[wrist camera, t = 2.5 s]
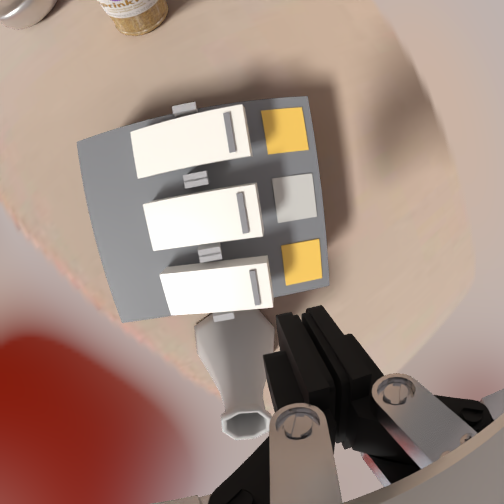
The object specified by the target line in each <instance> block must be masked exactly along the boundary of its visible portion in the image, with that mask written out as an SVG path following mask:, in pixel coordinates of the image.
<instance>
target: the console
mask: <svg viewBox="0 0 504 504" xmlns="http://www.w3.org/2000/svg"><path fill="white" fill-rule="evenodd" d="M241 104H242V105H243V106H244V108H245V111H246V118H247V124H248V130H249V136H250V142H251V148H252V155H253V156H250V157H244V158H238V159H232V160H226V161H220V162H215V163H209V164H204V165H199V166H194V167H189V168H185V169H180V170H175V171H171V172H166V173H162V174H158V175H154V176H149V177H145V178H139V179H138V177H137V172H136V166H135V160H134V154H133V147H132V141H131V134H130V132H132V131H135V130H138V129H141V128H144V127H148V126H151V125H154V124H158V123H161V122H165V121H169V120H172V119H176V118H180V117H184V116H188V115H192V114H196V113H201V112H205V111H210V110H214V109H219V108H224V107H230V106H235V105H241ZM172 110H173V114H170V115H165V116H161V117H157V118H153V119H149V120H145V121H141V122H138V123H134V124H131V125H127V126H124V127H120V128H117V129H114V130H110V131H107V132H104V133H101V134H98V135H95V136H92V137H89V138H87V139H84V140H81V141H78V142H77V148H78V155H79V162H80V169H81V175H82V180H83V186H84V191H85V196H86V201H87V206H88V211H89V215H90V219H91V224H92V228H93V232H94V236H95V240H96V243H97V247H98V251H99V254H100V258H101V261H102V265H103V268H104V271H105V275H106V278H107V281H108V284H109V287H110V290H111V293H112V296H113V299H114V302H115V305H116V307H117V310H118V313H119V315H120V318H121V321H122V323H124V322H132V321H139V320H146V319H153V318H160V317H167V316H173V315H171V312H170V309H169V306H168V303H167V299H166V296H165V292H164V289H163V285H162V282H161V278H160V274H161V273H162V272H163V271H164V269H165V268H166V267H171V266H179V265H188V264H197V263H206V262H214V261H223V260H232V259H240V258H249V257H257V256H266V255H268V261H269V268H270V275H271V282H272V289H273V296H274V297H279V296H284V295H289V294H294V293H298V292H303V291H308V290H312V289H317V288H321V287H326V286H329V269H328V254H327V241H326V229H325V218H324V208H323V199H322V190H321V182H320V174H319V166H318V158H317V151H316V145H315V138H314V131H313V125H312V119H311V113H310V108H309V102H308V96H302V97H285V98H272V99H262V100H253V101H244V102H237V103H229V104H223V105H216V106H210V107H205V108H199V109H197V106H196V103H195V102H191V103H186V104H181V105H176V106H172ZM250 183H257V187H258V193H259V200H260V206H261V213H262V220H263V226H264V234H263V237H255V238H247V239H239V240H231V241H223V242H216V243H208V244H201V245H193V246H186V247H178V248H171V249H164V250H156V251H153V247H152V243H151V239H150V235H149V231H148V226H147V222H146V217H145V213H144V208H143V204H145V203H148V202H150V201H154V200H159V199H164V198H169V197H174V196H179V195H184V194H190V193H195V192H201V191H206V190H212V189H218V188H224V187H230V186H237V185H243V184H250ZM213 319H214V322H218V321H224V320H229V319H235V318H234V311H227V312H213Z"/></svg>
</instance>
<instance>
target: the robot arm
mask: <svg viewBox="0 0 504 504" xmlns="http://www.w3.org/2000/svg"><path fill="white" fill-rule="evenodd" d="M276 323H277V331H278V338H279V346H280V351H279V352H274V353H269V354H264V355H263V361H264V367H265V372H266V378H267V382H268V387H269V391H270V395H271V399H272V403H273V407H274V411H275V413H274V415H273V416H272V418H271V419H270V424H269V437H268V438H267V439H266V440H265V441H264V442H263V443H262V444H261V445H260V446H259V447H258V448H257V450H256V451H255V452H254V453H253V454H252V455H251V456H250V457H249V458H248V459H247V460H246V461H245V462H244V463H243V464H242V465H241V466H240V467H239V468H238V469H237V470H236V471H235V472H234V473H233V474H232V475H231V476H230V477H229V478H227V479H226V480H225V481H224V482H223V483H222V484H221V485H220V486H219V487H218V488H216V490H215V491H214V492H213V493H212V494H210V495H206V496H202V497H198V495H195V496H191V497H186V498H181V499H176V500H171V501H165V502H160V503H153V504H504V389H502V390H500V391H497V392H495V393H493V394H491V395H488V396H486V397H484V398H482V399H481V401H480V402H479V401H475V400H468V399H460V398H451V397H445V396H438V395H433V394H432V393H430V392H429V391H428V390H427V389H426V388H425V387H424V386H422V385H421V384H420V383H419V382H418V381H417V380H415V379H414V378H412V377H411V376H408V375H405V374H399V373H394V374H388V375H385V376H384V375H383V373H382V372H381V371H380V369H379V368H378V367H377V366H376V364H375V363H374V362H373V360H372V359H371V358H370V356H369V355H368V354H367V353H366V351H365V350H364V349H363V347H362V346H361V345H360V343H359V342H358V341H357V340H356V338H355V337H354V336H353V335H352V334H347V335H344V334H343V333H342V331H341V330H340V329H339V327H338V326H337V325H336V323H335V322H334V321H333V319H332V318H331V317H330V315H329V314H328V313H327V311H326V310H325V309H324V307H323V306H322V305H320V306H316V307H312V308H307V309H306V313H303V314H302V321H301V319H300V318H299V316H298V315H294V316H293V314H292V313H291V312H289V313H285V314H280V315H276ZM335 442H336V443H340V442H342V445H343V447H344V449H348V448H351V447H352V449H353V450H355V451H359V452H360V453H361V456H362V458H363V460H364V461H365V462H366V464H367V465H368V466H369V468H370V469H371V470H372V472H373V473H374V474H375V475H376V477H377V478H378V479H379V481H380V482H381V484H382V485H383V486H384V488H381V489H379V490H377V491H374V492H372V493H369V494H366V495H364V496H361V497H358V498H356V499H353V500H350V501H348V502H344V503H342V498H341V492H340V486H339V481H338V476H337V470H336V465H335V460H334V446H335Z"/></svg>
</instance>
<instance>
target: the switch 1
mask: <svg viewBox="0 0 504 504" xmlns="http://www.w3.org/2000/svg"><path fill="white" fill-rule="evenodd" d="M130 134H131V141H132V147H133V154H134V160H135V166H136V172H137V177H138V179H139V178H145V177H149V176H154V175H158V174H162V173H166V172H171V171H175V170H180V169H185V168H189V167H194V166H199V165H204V164H209V163H215V162H220V161H226V160H232V159H238V158H244V157H250V156H253V155H252V148H251V142H250V136H249V130H248V124H247V118H246V111H245V108H244V106H243V105H242V104H241V105H235V106H230V107H224V108H219V109H214V110H210V111H205V112H201V113H196V114H192V115H188V116H184V117H180V118H176V119H172V120H169V121H165V122H161V123H158V124H154V125H151V126H148V127H144V128H141V129H138V130H135V131H132V132H130Z"/></svg>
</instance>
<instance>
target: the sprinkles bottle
mask: <svg viewBox="0 0 504 504" xmlns="http://www.w3.org/2000/svg"><path fill="white" fill-rule="evenodd" d="M97 1H98V2H99V4H100V5H101V6H102V8H103V9H104V10H105V12H106V13H107V14H108V15H110V17H111V18H112V20H113V21H114V23H115V24H116V28H117V29H118V30H119V31H120V32H121V33H123V34H125V35H132V36H134V35H135V36H138V35H143V34H146V33H148V32H150V31H152V30H154V29H155V28H156V27H158V26H159V25H160V24H161V23H162V22H163V21H164V19H165V17H166V15H167V12H168V5H167V2H166V1H165V0H97Z"/></svg>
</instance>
